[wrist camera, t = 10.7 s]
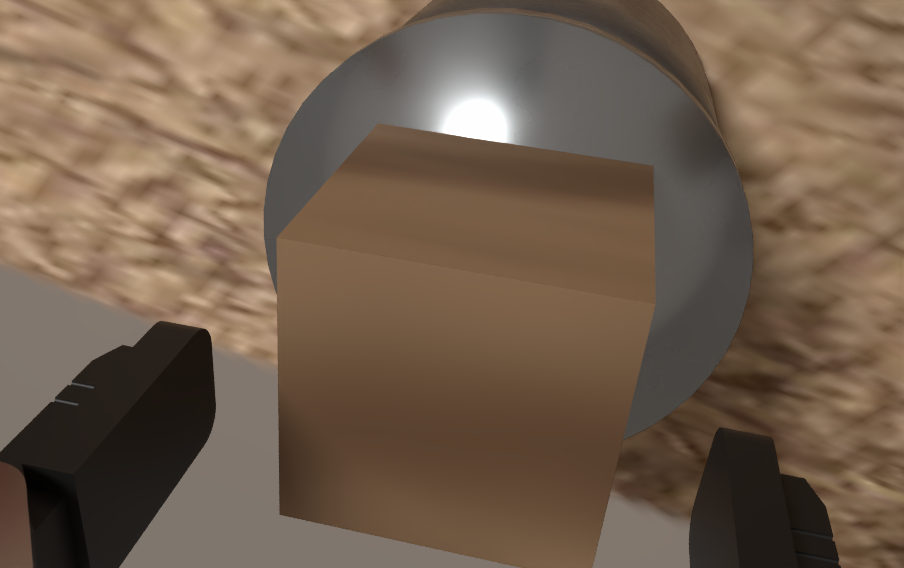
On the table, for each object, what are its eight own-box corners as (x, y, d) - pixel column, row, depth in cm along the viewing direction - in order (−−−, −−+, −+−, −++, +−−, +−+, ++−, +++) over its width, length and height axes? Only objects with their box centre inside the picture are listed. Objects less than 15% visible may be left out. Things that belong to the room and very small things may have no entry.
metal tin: (564, -138, 22) (520, -115, 15) (793, 156, 25) (859, 310, 17) (308, 109, 27) (173, 226, 19) (522, 337, 30) (478, 521, 22)
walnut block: (378, 123, 17) (276, 237, 13) (653, 165, 17) (655, 304, 12) (367, 349, 20) (279, 514, 15) (603, 394, 19) (588, 582, 15)
